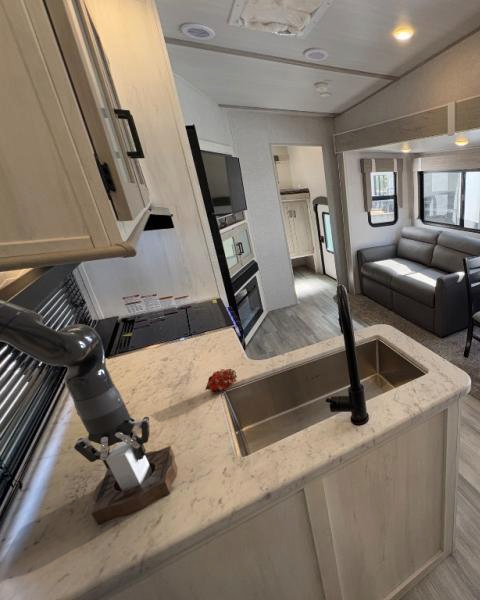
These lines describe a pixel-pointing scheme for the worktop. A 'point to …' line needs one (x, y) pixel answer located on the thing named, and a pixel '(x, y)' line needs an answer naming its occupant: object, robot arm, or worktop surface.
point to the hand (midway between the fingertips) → (128, 462)
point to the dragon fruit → (221, 380)
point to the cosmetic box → (128, 466)
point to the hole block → (135, 488)
